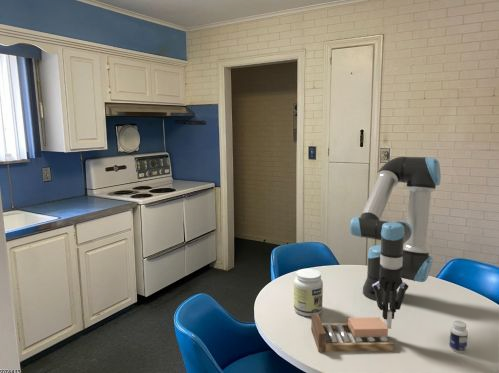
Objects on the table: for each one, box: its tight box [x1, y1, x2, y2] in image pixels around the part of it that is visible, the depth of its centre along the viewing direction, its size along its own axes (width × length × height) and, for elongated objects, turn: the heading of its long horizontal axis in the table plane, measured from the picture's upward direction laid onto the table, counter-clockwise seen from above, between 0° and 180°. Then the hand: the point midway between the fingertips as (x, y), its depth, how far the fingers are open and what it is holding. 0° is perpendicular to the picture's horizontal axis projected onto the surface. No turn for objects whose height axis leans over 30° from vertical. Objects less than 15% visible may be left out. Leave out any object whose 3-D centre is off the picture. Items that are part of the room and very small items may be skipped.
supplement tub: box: [293, 268, 324, 317], centre depth 162 cm, size 12×12×17 cm
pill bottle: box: [448, 320, 469, 354], centre depth 133 cm, size 5×5×10 cm
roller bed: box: [324, 322, 389, 343], centre depth 140 cm, size 11×20×2 cm, turn 91°
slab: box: [347, 317, 389, 338], centre depth 140 cm, size 12×8×3 cm, turn 91°
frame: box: [310, 313, 395, 353], centre depth 140 cm, size 26×14×7 cm, turn 91°
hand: (387, 326), depth 140 cm, fingers closed
